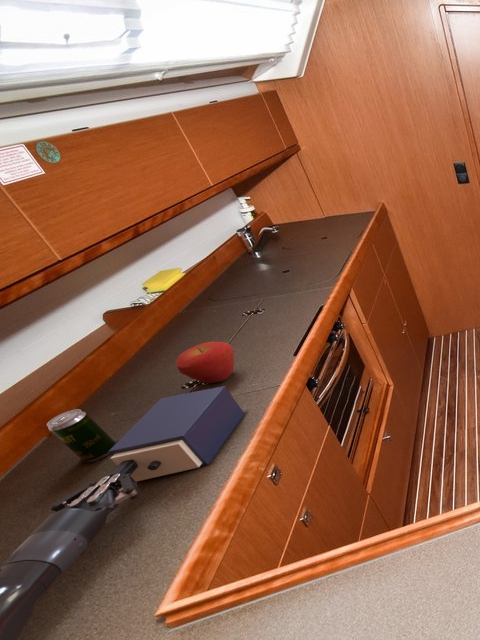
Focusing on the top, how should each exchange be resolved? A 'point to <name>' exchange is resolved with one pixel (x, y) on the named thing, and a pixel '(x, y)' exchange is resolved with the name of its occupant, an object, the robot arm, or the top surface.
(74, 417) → the beer can
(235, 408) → the cabinet
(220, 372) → the apple
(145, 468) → the drawer
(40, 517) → the top surface
